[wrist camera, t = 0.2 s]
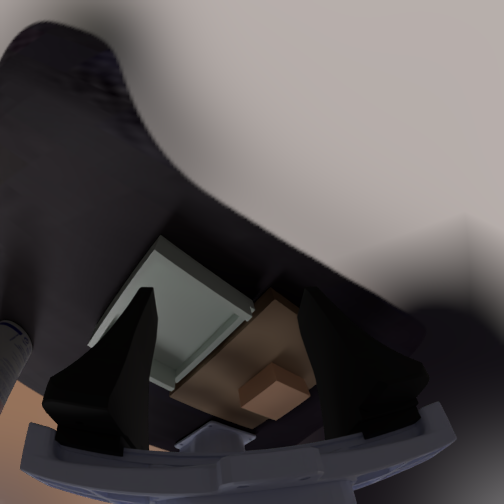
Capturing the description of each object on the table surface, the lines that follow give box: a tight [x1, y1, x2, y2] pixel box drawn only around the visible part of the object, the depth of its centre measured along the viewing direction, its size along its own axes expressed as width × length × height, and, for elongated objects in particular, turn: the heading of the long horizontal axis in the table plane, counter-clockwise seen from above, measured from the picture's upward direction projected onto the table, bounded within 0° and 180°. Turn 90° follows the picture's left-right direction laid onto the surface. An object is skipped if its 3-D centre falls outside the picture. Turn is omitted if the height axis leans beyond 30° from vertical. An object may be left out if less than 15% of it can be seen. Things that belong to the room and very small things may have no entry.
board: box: [169, 287, 316, 429], centre depth 29 cm, size 16×12×2 cm
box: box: [88, 235, 255, 392], centre depth 25 cm, size 12×10×3 cm
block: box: [238, 362, 310, 420], centre depth 28 cm, size 5×5×2 cm
